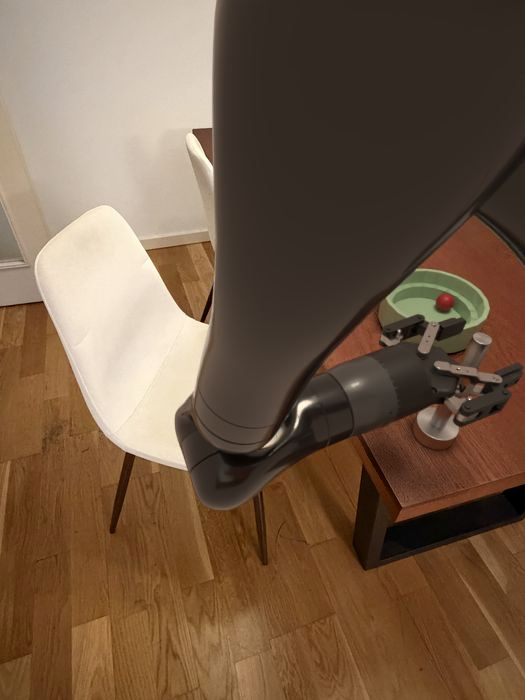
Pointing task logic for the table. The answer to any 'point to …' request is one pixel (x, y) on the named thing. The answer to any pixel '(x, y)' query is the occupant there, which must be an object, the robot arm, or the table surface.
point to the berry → (444, 302)
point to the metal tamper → (438, 421)
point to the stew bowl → (421, 299)
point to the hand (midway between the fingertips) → (488, 346)
